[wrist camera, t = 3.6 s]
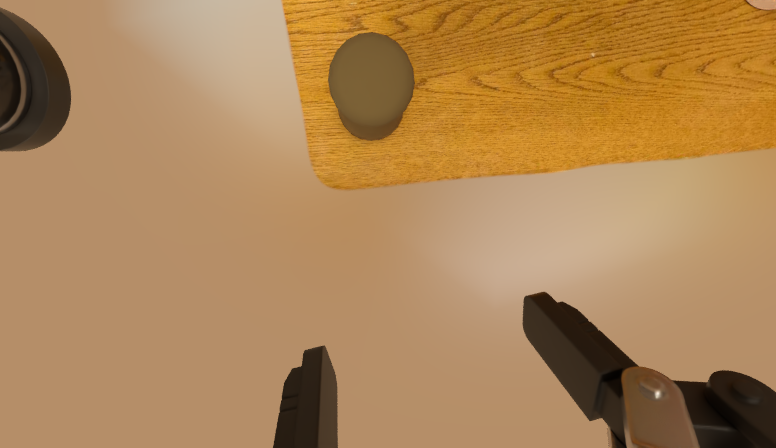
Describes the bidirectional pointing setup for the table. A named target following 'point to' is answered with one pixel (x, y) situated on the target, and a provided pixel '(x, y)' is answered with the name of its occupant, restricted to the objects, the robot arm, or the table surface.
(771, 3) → the cup
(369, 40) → the pepper shaker
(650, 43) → the table surface
